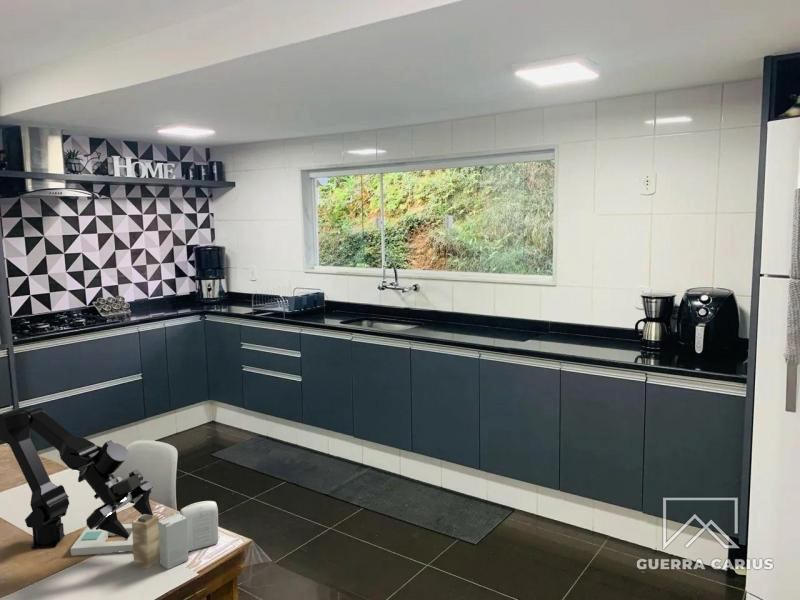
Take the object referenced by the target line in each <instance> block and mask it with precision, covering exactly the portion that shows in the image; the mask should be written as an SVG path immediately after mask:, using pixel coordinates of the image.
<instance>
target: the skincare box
mask: <svg viewBox="0 0 800 600" xmlns="http://www.w3.org/2000/svg"><path fill="white" fill-rule="evenodd" d="M158 532H159V551H160V560H159V562H160V563H159V564H160V565H161V566H162V567H163V568H165V569H167V570H169V569H172V568H174V567H176V566H179V565H182V564H183V563H185V562H186V561H187V562H188V561H189V558H190V557H189V551H188V535H187V518H186V517H184V516H182V515H181V514H180V513H176V514H174V515H172V516H168V517H166V518H163V519H161V520H159V521H158Z"/></svg>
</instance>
